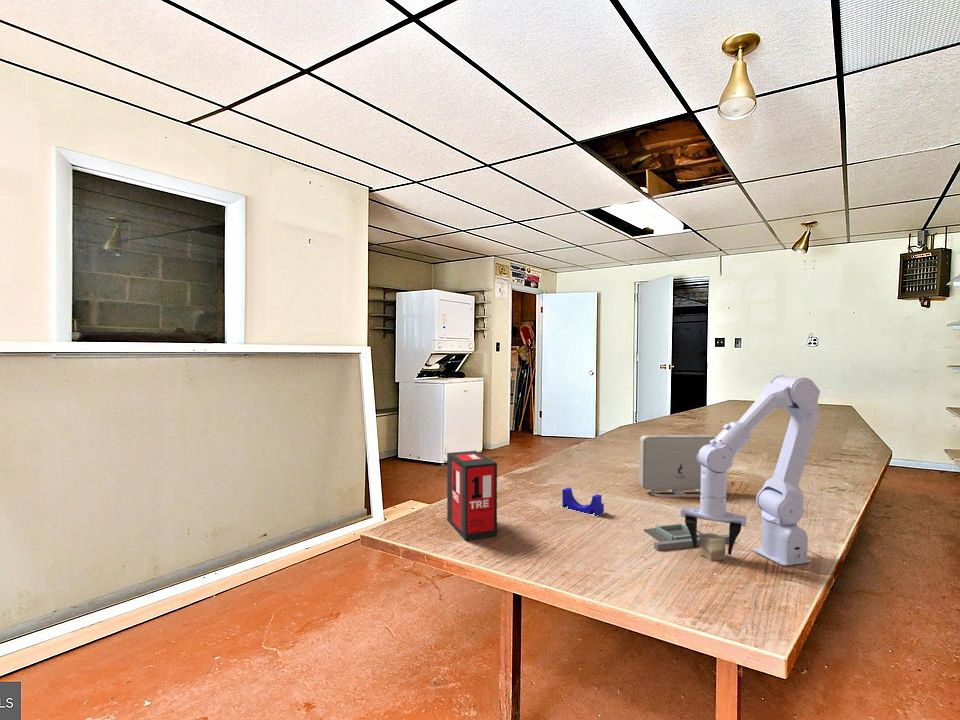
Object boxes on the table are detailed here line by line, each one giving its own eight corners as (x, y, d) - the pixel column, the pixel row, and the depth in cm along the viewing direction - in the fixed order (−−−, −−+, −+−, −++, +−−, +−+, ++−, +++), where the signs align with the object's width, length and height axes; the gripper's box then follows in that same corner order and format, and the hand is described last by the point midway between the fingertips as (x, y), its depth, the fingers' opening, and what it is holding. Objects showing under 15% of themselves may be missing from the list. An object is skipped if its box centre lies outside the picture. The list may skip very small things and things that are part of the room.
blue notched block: (603, 513, 154) (603, 494, 154) (596, 517, 151) (596, 497, 151) (569, 505, 162) (570, 486, 162) (562, 508, 159) (562, 489, 159)
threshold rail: (731, 542, 132) (731, 536, 132) (657, 550, 126) (657, 544, 126) (727, 539, 133) (727, 534, 133) (654, 548, 128) (654, 542, 128)
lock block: (725, 559, 121) (725, 538, 121) (710, 561, 120) (711, 540, 120) (713, 552, 125) (713, 532, 125) (699, 554, 124) (700, 534, 124)
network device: (645, 497, 170) (645, 438, 169) (636, 489, 179) (636, 433, 178) (719, 496, 171) (720, 438, 170) (707, 489, 180) (707, 433, 179)
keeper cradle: (714, 541, 132) (714, 535, 132) (667, 546, 129) (667, 540, 129) (687, 526, 143) (687, 521, 143) (643, 530, 140) (643, 525, 140)
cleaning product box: (496, 536, 135) (496, 463, 135) (465, 541, 132) (465, 465, 131) (475, 516, 151) (475, 450, 150) (447, 520, 148) (447, 452, 147)
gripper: (747, 494, 122) (745, 549, 123) (683, 486, 129) (682, 538, 130) (746, 503, 116) (745, 560, 117) (679, 493, 123) (678, 548, 124)
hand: (712, 550), depth 123 cm, fingers open, 7 cm apart
